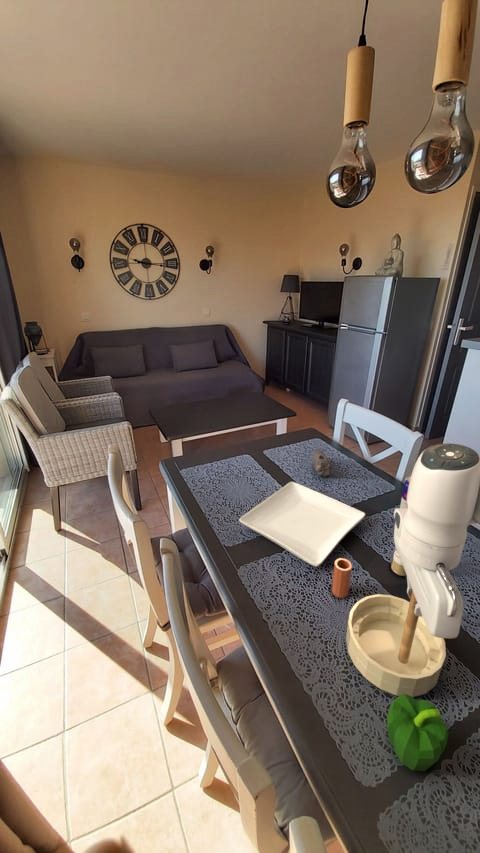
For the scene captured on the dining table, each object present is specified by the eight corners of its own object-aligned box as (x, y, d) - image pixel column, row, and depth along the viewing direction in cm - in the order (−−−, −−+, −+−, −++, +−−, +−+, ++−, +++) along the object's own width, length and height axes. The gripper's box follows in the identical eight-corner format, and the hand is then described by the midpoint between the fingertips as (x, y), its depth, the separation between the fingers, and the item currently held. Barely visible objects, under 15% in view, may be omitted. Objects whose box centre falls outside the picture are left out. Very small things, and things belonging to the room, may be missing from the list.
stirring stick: (406, 655, 69) (424, 577, 61) (409, 664, 67) (428, 586, 59) (396, 654, 69) (413, 577, 61) (399, 663, 68) (416, 585, 59)
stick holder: (347, 585, 87) (350, 558, 84) (349, 598, 84) (353, 571, 80) (330, 584, 87) (333, 557, 84) (332, 597, 84) (335, 570, 81)
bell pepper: (382, 768, 55) (391, 731, 51) (383, 711, 62) (391, 675, 58) (443, 793, 53) (458, 756, 48) (437, 731, 60) (449, 694, 55)
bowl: (421, 617, 79) (426, 597, 76) (454, 704, 63) (462, 683, 61) (340, 611, 81) (342, 591, 78) (353, 694, 65) (357, 672, 63)
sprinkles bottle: (388, 563, 93) (395, 521, 88) (406, 563, 93) (414, 521, 87) (395, 577, 89) (403, 534, 83) (413, 577, 89) (423, 533, 83)
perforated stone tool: (309, 460, 143) (310, 444, 140) (322, 459, 143) (323, 444, 140) (317, 480, 129) (318, 463, 127) (331, 480, 129) (333, 463, 127)
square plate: (237, 529, 107) (237, 518, 105) (291, 489, 125) (291, 479, 123) (316, 576, 90) (317, 564, 88) (365, 522, 108) (367, 511, 106)
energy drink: (401, 517, 110) (408, 483, 105) (397, 506, 114) (403, 474, 109) (420, 518, 109) (427, 484, 104) (415, 507, 114) (422, 475, 109)
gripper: (484, 599, 47) (461, 667, 53) (428, 504, 65) (415, 562, 71) (433, 596, 48) (416, 663, 53) (392, 503, 66) (382, 560, 72)
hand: (415, 604), depth 62 cm, fingers closed on stirring stick, 2 cm apart
